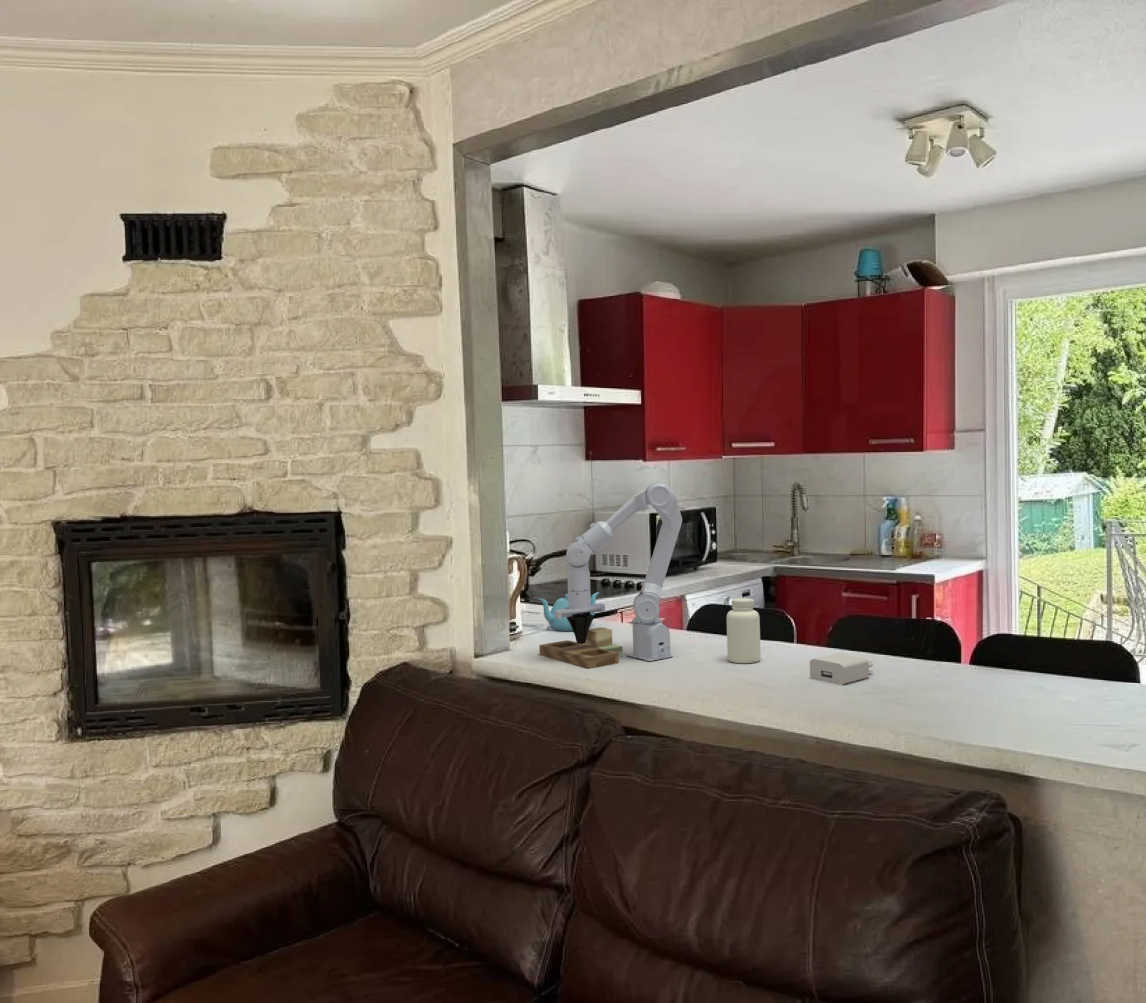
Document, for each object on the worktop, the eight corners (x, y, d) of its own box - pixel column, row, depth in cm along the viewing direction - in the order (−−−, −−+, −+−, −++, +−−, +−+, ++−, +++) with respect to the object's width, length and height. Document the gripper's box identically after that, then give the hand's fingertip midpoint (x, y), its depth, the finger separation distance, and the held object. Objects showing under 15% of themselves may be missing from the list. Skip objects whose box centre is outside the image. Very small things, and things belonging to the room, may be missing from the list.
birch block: (612, 645, 243) (611, 629, 243) (596, 647, 240) (596, 632, 240) (600, 642, 247) (600, 627, 247) (585, 644, 244) (584, 629, 244)
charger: (885, 674, 213) (844, 686, 204) (851, 668, 221) (809, 679, 212) (885, 654, 213) (843, 664, 204) (851, 648, 220) (809, 658, 211)
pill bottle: (759, 656, 235) (757, 596, 234) (762, 664, 227) (760, 601, 226) (726, 657, 236) (725, 597, 235) (728, 664, 228) (727, 602, 227)
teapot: (557, 623, 292) (556, 590, 291) (603, 624, 286) (602, 590, 286) (539, 632, 278) (537, 597, 278) (586, 633, 273) (585, 598, 272)
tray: (636, 659, 236) (635, 649, 236) (589, 668, 228) (588, 658, 228) (584, 646, 254) (584, 637, 254) (539, 654, 246) (539, 645, 246)
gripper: (593, 585, 247) (594, 637, 248) (546, 591, 239) (548, 645, 239) (609, 587, 241) (611, 640, 242) (562, 594, 233) (564, 649, 233)
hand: (581, 643), depth 240 cm, fingers closed
